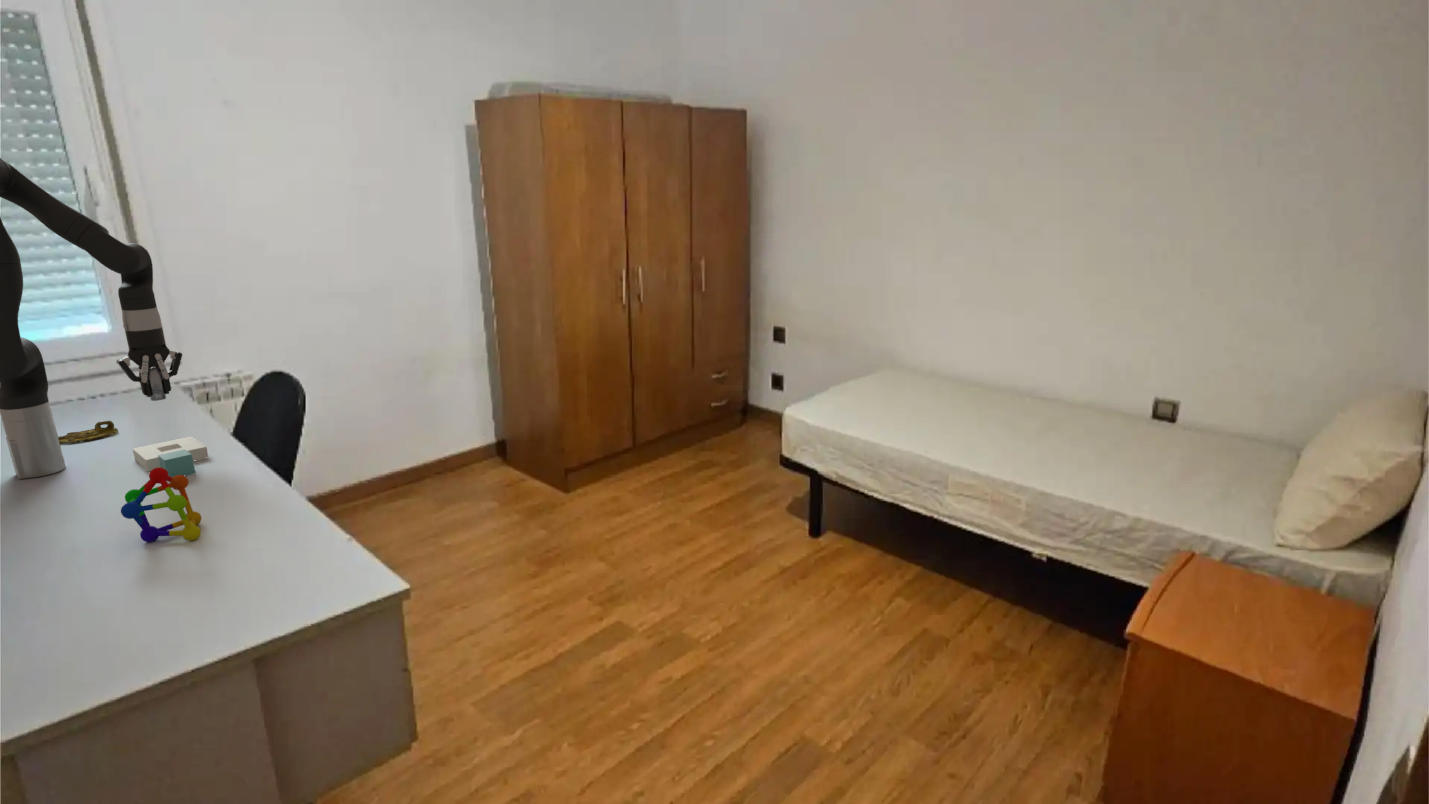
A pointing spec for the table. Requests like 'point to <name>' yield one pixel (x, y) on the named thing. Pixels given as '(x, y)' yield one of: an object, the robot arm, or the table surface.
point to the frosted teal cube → (177, 463)
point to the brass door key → (90, 434)
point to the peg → (156, 384)
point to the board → (168, 451)
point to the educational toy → (174, 503)
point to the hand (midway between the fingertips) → (157, 394)
